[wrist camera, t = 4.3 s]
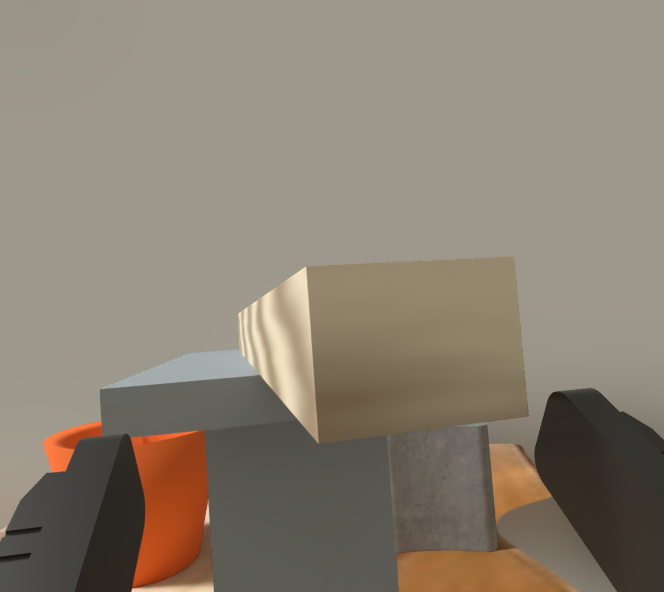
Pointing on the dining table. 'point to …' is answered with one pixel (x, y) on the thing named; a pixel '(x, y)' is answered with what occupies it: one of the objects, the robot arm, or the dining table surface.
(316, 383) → the ash bar
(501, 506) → the dining table surface
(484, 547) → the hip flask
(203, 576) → the dining table surface
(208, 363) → the stand
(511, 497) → the dining table surface
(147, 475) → the flowerpot
